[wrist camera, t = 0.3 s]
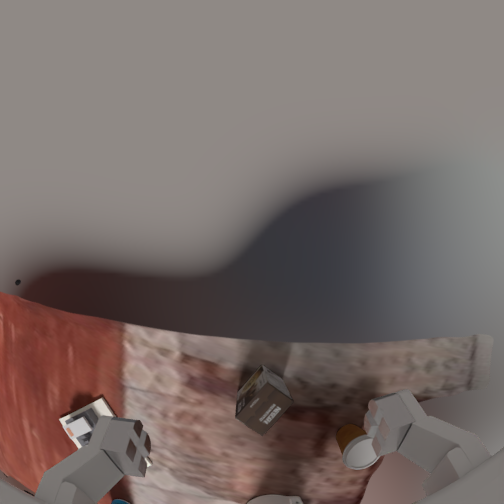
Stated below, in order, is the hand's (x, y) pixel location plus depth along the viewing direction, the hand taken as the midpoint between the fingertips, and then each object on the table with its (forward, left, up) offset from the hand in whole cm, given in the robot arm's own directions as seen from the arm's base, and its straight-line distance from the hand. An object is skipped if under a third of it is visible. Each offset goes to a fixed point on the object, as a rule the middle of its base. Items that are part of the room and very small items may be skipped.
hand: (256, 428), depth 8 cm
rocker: (-1, +53, -48) cm, 71 cm away
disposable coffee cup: (-38, -4, -54) cm, 66 cm away
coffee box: (-13, +6, -54) cm, 56 cm away
